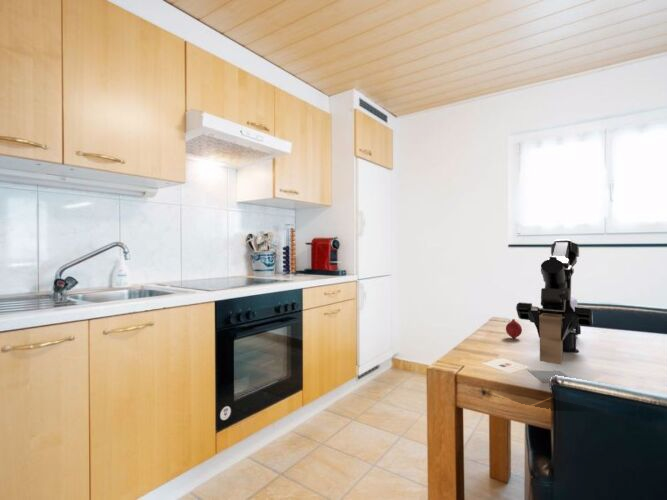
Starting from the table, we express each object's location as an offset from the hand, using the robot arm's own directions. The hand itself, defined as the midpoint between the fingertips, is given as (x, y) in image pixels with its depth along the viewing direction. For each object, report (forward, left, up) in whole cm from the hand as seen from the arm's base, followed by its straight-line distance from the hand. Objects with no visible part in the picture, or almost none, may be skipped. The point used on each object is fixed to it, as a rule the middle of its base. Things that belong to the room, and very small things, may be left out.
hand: (550, 338), depth 97 cm
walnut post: (-1, -1, -7) cm, 7 cm away
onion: (-6, -43, -12) cm, 45 cm away
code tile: (+9, -10, -12) cm, 18 cm away
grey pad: (-1, -1, -12) cm, 12 cm away
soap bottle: (-27, -48, -12) cm, 57 cm away
